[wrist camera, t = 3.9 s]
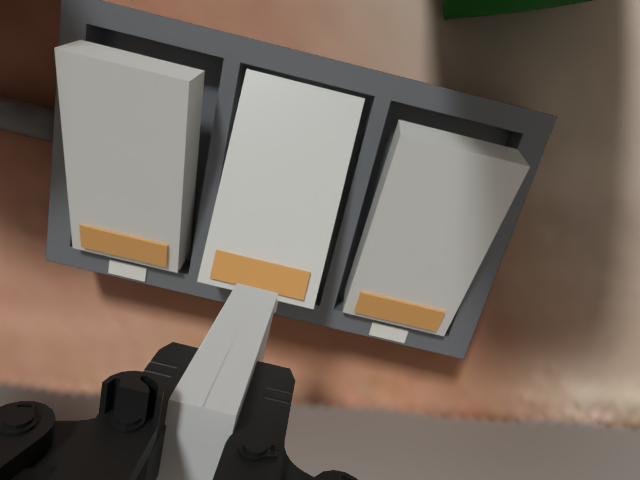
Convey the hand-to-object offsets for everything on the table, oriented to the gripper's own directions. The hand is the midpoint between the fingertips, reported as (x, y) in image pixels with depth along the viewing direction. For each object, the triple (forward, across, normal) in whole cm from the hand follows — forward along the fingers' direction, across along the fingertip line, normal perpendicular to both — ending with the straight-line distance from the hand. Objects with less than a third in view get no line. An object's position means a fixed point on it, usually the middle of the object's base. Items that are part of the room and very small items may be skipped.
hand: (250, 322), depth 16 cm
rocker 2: (+6, 0, +4) cm, 7 cm away
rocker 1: (+6, -7, +4) cm, 10 cm away
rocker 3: (+6, +6, +4) cm, 9 cm away
